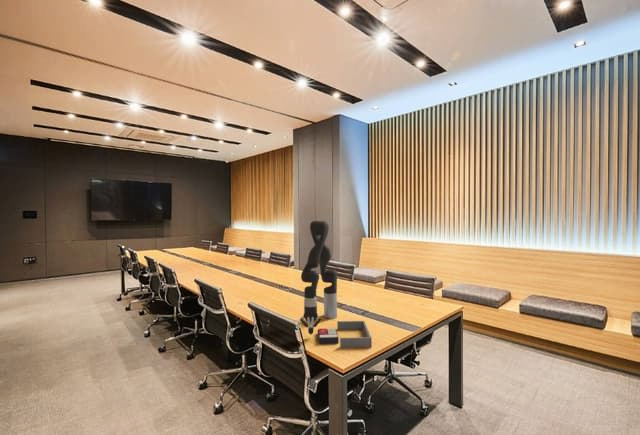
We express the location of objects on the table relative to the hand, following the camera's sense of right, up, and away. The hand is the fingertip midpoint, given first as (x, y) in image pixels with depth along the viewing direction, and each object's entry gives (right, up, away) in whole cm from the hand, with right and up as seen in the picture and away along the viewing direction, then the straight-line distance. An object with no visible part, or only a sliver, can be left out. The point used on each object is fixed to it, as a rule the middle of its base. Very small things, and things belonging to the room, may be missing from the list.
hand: (310, 333), depth 176 cm
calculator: (+10, -3, -1) cm, 10 cm away
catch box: (+25, -2, 0) cm, 25 cm away
